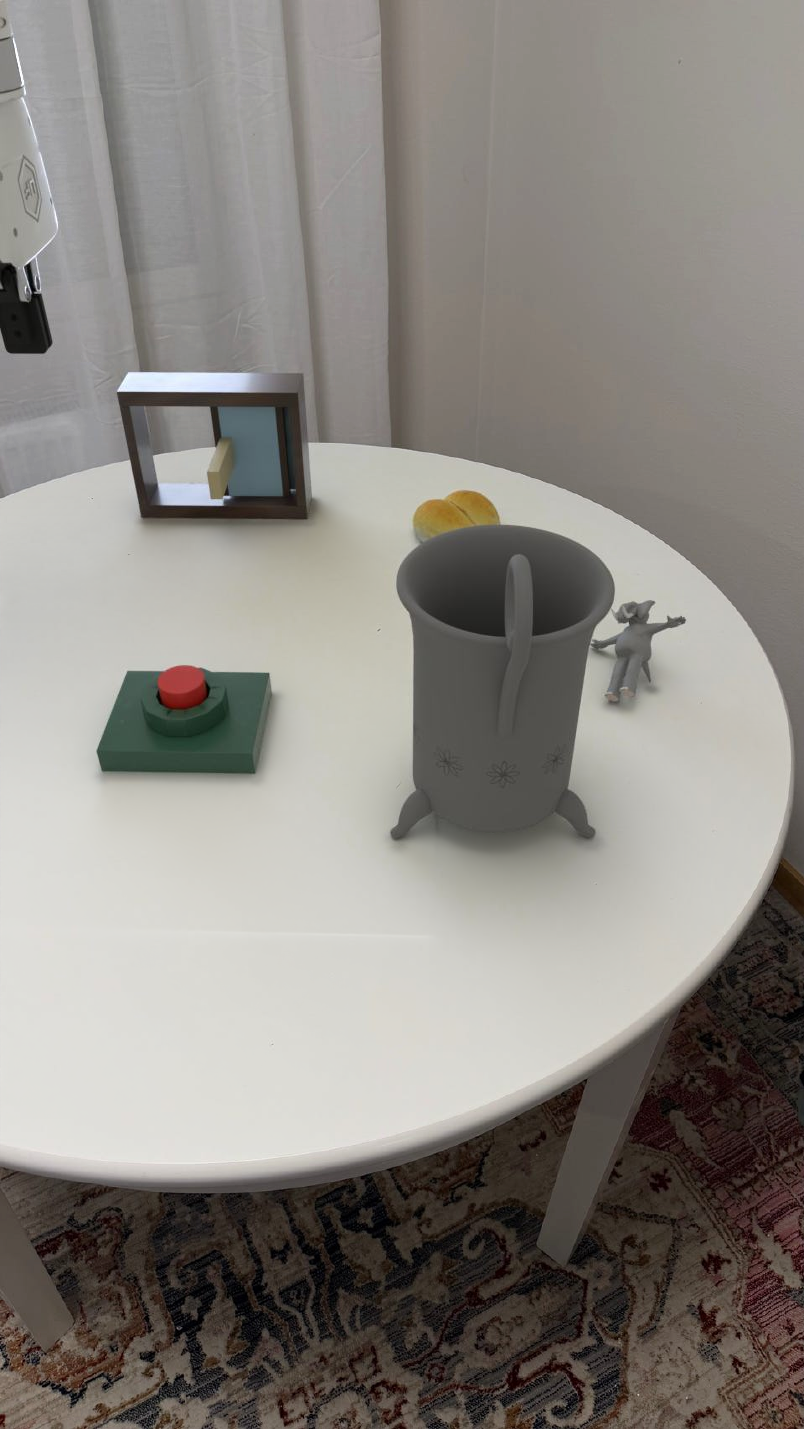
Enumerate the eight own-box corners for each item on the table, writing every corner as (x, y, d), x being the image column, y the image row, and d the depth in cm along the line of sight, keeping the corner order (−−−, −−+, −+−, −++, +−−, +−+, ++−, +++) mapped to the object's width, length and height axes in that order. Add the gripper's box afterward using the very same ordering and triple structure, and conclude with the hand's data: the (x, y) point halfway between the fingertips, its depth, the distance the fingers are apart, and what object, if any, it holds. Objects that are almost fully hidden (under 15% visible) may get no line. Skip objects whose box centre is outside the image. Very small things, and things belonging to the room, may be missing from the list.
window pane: (209, 532, 102) (195, 436, 96) (222, 493, 109) (210, 400, 102) (281, 532, 102) (272, 436, 95) (291, 493, 108) (283, 401, 102)
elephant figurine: (552, 690, 86) (577, 606, 90) (596, 726, 88) (619, 643, 92) (646, 665, 78) (669, 574, 82) (691, 705, 81) (711, 615, 85)
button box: (101, 771, 78) (91, 733, 76) (132, 690, 86) (123, 653, 83) (255, 774, 78) (249, 735, 75) (272, 692, 85) (267, 655, 83)
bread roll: (399, 528, 106) (398, 494, 104) (470, 506, 110) (471, 473, 107) (440, 563, 101) (441, 528, 98) (513, 540, 104) (516, 505, 102)
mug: (391, 724, 82) (385, 436, 66) (572, 723, 82) (610, 435, 66) (389, 906, 68) (382, 596, 52) (608, 904, 68) (669, 594, 52)
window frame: (141, 517, 108) (116, 391, 99) (151, 495, 112) (128, 372, 103) (307, 519, 108) (297, 392, 99) (312, 496, 112) (303, 373, 103)
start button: (156, 710, 78) (152, 693, 77) (166, 681, 81) (162, 664, 80) (202, 711, 78) (199, 693, 77) (210, 682, 81) (207, 665, 80)
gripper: (-22, 92, 60) (49, 389, 72) (51, 55, 72) (102, 316, 84) (-145, 92, 61) (-54, 388, 72) (-53, 55, 72) (13, 316, 84)
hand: (30, 349), depth 78 cm, fingers closed
